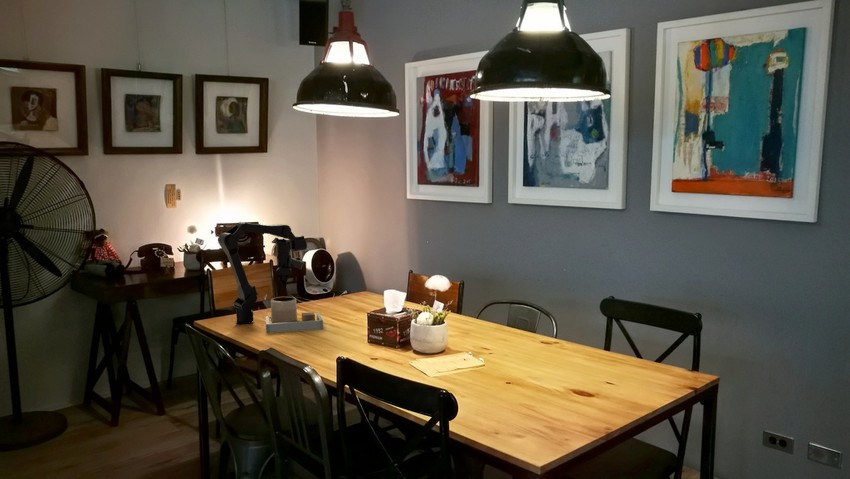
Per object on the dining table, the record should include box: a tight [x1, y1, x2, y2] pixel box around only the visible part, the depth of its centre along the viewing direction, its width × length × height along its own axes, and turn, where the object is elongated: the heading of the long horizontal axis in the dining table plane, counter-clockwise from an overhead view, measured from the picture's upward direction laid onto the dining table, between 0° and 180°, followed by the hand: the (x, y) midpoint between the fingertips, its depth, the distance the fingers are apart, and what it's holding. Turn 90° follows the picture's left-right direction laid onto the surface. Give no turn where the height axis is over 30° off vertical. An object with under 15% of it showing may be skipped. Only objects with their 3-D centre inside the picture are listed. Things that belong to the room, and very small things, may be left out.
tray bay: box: [265, 312, 324, 334], centre depth 279 cm, size 22×14×4 cm, turn 104°
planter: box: [270, 296, 298, 323], centre depth 289 cm, size 11×11×10 cm
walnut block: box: [301, 311, 316, 321], centre depth 281 cm, size 5×5×5 cm
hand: (284, 288), depth 298 cm, fingers closed
